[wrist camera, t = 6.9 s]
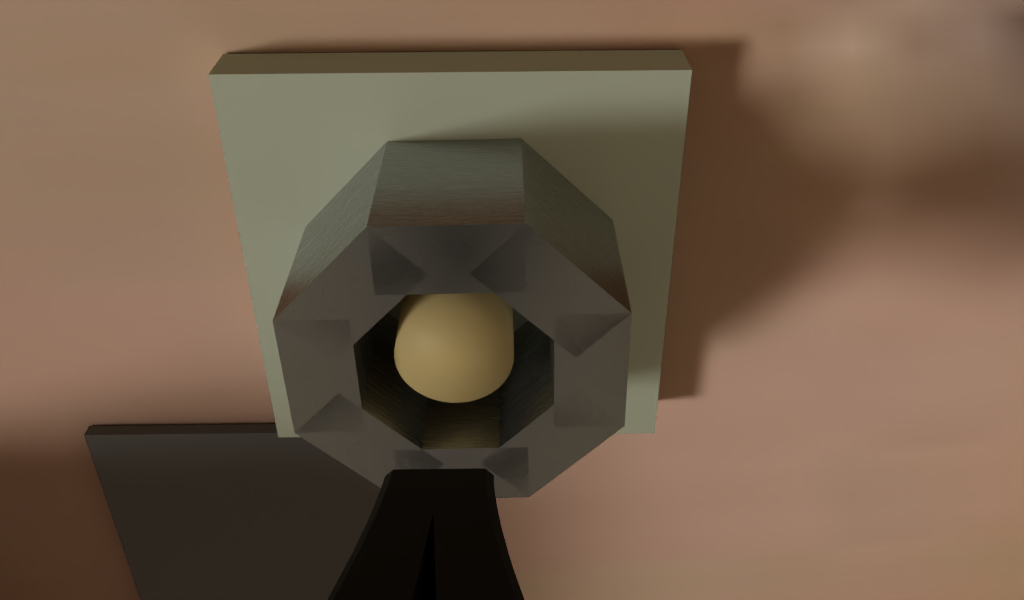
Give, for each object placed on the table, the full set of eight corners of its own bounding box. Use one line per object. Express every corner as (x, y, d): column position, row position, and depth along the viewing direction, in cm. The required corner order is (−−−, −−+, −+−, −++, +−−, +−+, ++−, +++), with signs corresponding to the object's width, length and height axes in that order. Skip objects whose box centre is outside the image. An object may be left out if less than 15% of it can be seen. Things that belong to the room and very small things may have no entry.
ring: (604, 388, 19) (620, 494, 17) (333, 394, 19) (307, 501, 17) (616, 135, 16) (637, 220, 14) (291, 142, 16) (254, 228, 14)
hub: (648, 402, 21) (671, 521, 18) (287, 406, 21) (252, 526, 18) (682, 49, 16) (721, 131, 14) (223, 54, 16) (163, 137, 13)
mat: (420, 622, 25) (419, 631, 25) (156, 625, 25) (153, 634, 25) (401, 422, 21) (400, 431, 21) (89, 426, 21) (84, 435, 21)
